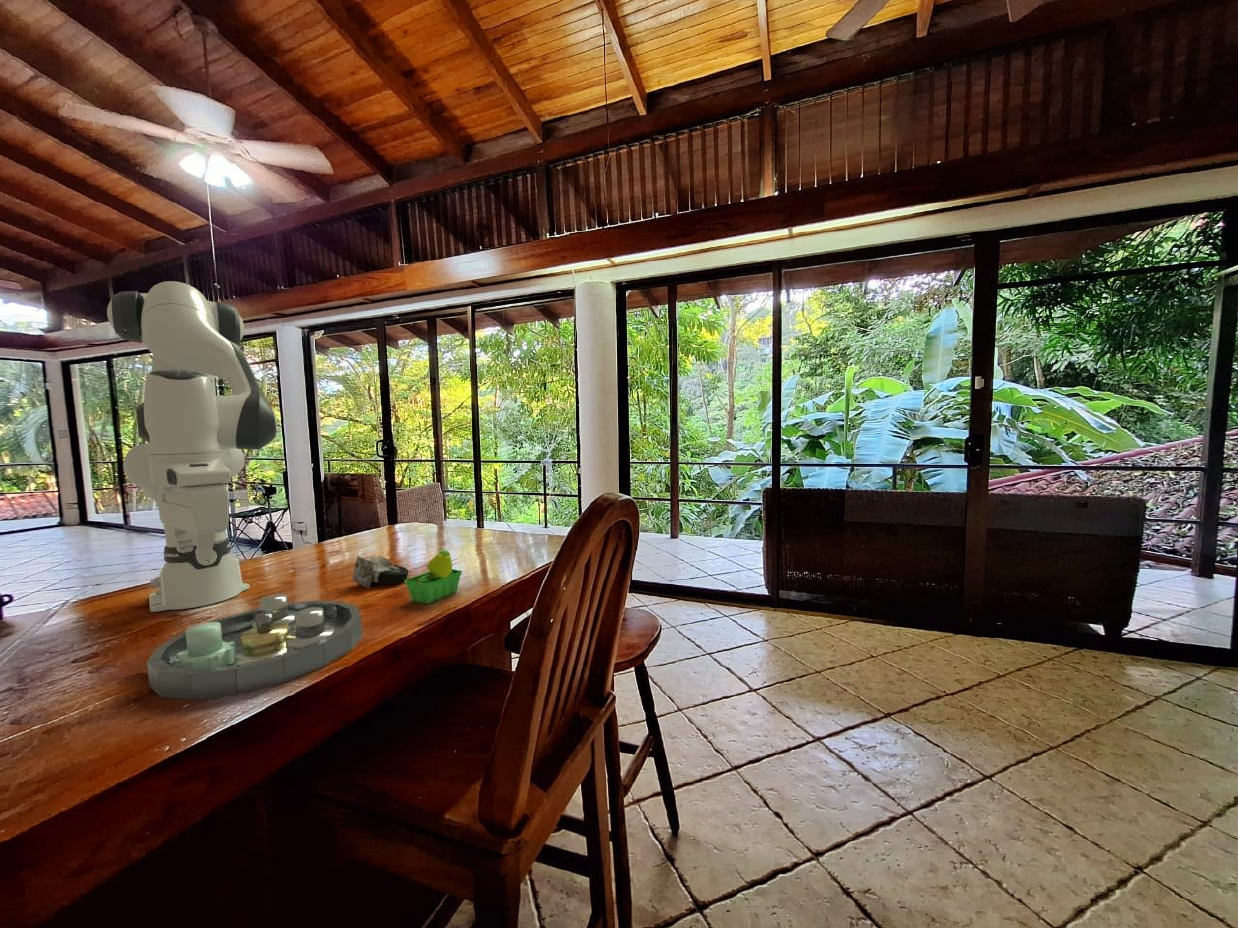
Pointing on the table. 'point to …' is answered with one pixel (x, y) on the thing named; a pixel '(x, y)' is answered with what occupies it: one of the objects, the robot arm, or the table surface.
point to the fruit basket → (435, 580)
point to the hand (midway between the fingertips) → (194, 555)
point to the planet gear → (206, 648)
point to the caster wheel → (378, 572)
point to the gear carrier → (261, 648)
